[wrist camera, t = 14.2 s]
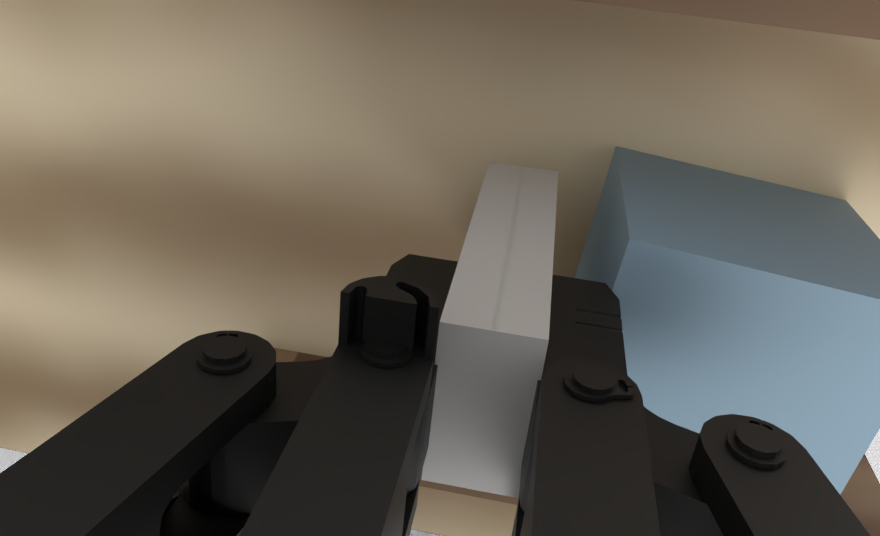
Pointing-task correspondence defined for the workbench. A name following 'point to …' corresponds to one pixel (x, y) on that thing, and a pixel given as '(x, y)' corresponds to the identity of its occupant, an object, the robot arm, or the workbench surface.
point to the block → (743, 302)
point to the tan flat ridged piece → (366, 161)
